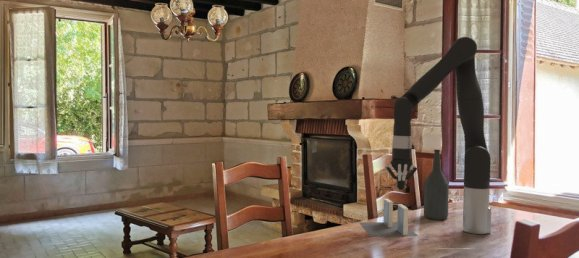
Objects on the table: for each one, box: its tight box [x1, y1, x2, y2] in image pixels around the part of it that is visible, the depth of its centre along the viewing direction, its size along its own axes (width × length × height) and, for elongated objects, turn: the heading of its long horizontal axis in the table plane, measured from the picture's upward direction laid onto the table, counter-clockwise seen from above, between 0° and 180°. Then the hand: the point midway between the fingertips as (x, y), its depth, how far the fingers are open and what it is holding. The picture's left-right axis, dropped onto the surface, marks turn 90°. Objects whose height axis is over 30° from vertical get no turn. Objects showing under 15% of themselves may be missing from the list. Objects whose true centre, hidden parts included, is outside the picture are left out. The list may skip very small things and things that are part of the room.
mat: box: [358, 221, 419, 238], centre depth 181 cm, size 18×22×1 cm
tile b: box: [397, 203, 409, 235], centre depth 176 cm, size 2×8×10 cm, turn 2°
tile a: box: [383, 198, 394, 227], centre depth 188 cm, size 2×8×10 cm, turn 2°
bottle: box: [423, 149, 450, 221], centre depth 203 cm, size 10×10×30 cm
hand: (400, 189), depth 188 cm, fingers closed
